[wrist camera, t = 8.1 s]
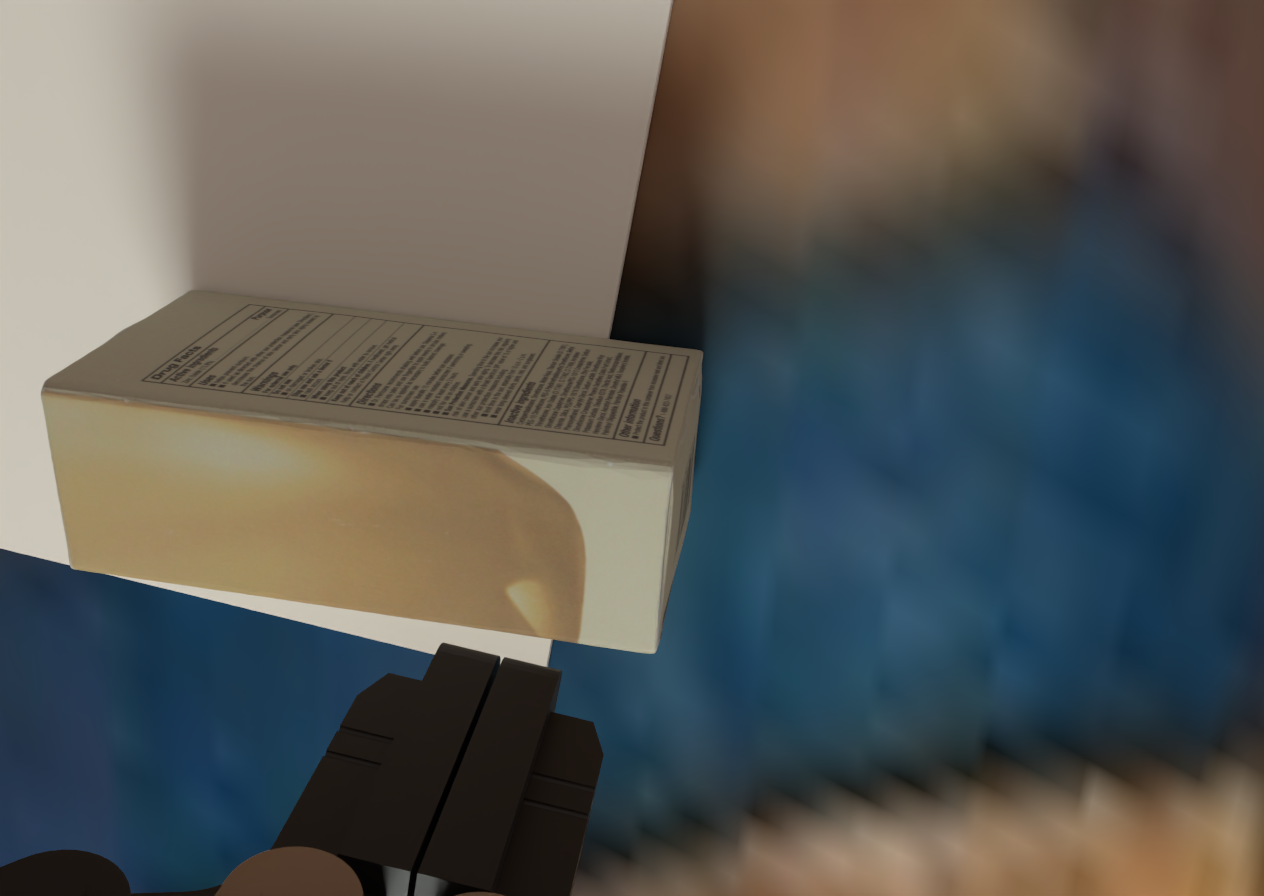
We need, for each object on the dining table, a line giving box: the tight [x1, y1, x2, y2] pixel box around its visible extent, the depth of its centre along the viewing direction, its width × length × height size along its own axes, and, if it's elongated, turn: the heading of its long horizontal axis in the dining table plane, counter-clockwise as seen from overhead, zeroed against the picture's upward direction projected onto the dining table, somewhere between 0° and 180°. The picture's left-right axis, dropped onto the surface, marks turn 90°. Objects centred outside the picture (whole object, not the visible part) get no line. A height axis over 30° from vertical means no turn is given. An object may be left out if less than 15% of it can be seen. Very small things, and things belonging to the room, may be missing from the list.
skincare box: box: [41, 290, 703, 654], centre depth 25 cm, size 6×4×12 cm
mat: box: [0, 0, 674, 667], centre depth 27 cm, size 15×20×1 cm
